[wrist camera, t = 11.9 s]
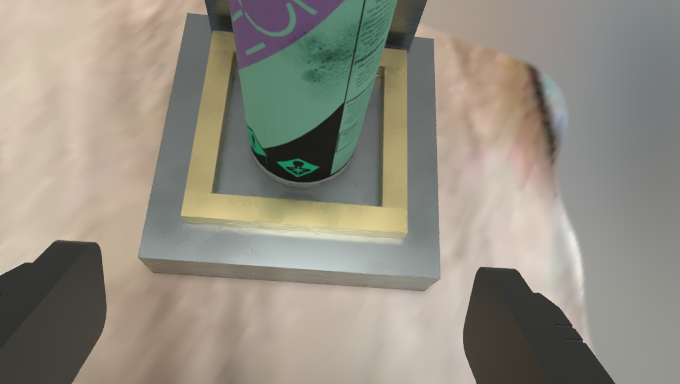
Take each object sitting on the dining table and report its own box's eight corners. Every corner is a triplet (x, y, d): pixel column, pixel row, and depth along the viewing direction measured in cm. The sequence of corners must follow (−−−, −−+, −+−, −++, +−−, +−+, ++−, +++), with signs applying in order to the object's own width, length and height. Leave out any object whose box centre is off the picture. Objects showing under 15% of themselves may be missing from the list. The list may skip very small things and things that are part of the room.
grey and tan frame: (153, 272, 26) (91, 213, 17) (196, 47, 31) (163, -81, 23) (424, 290, 27) (486, 243, 19) (420, 69, 32) (468, -45, 24)
